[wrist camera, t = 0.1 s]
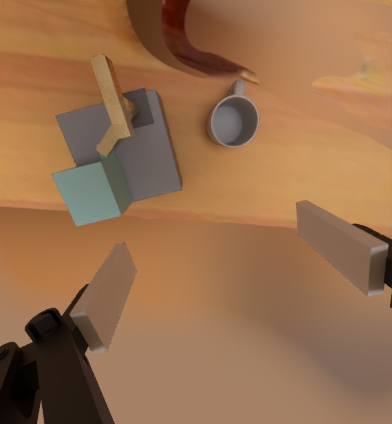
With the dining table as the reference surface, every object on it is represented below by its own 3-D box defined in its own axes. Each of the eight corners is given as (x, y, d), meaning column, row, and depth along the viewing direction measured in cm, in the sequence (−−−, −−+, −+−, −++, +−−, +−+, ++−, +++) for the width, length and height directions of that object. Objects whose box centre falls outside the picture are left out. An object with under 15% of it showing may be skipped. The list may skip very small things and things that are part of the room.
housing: (73, 115, 37) (52, 112, 32) (159, 93, 37) (154, 85, 31) (107, 200, 43) (95, 210, 37) (182, 182, 42) (181, 190, 37)
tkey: (80, 92, 31) (33, 72, 21) (130, 79, 30) (104, 53, 21) (105, 157, 34) (73, 165, 25) (150, 146, 34) (136, 150, 24)
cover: (70, 151, 34) (42, 155, 27) (111, 141, 34) (93, 142, 27) (95, 210, 37) (76, 226, 31) (133, 201, 37) (121, 215, 31)
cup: (202, 142, 40) (206, 143, 31) (212, 83, 36) (220, 67, 28) (239, 148, 40) (252, 151, 32) (252, 91, 37) (270, 77, 29)
